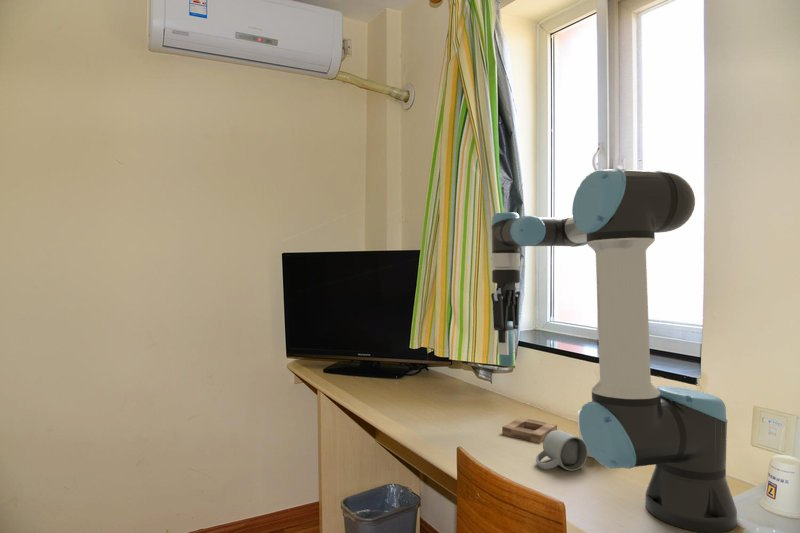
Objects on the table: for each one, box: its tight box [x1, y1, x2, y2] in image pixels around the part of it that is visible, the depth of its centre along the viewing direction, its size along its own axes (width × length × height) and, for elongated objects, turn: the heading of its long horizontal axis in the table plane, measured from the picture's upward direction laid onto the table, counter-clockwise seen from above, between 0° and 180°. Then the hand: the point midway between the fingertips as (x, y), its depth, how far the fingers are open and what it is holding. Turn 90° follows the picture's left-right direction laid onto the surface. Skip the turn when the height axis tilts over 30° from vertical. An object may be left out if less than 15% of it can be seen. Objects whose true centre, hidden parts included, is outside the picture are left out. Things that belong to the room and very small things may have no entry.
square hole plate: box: [501, 416, 558, 444], centre depth 144 cm, size 11×11×2 cm
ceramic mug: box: [535, 429, 588, 472], centre depth 122 cm, size 11×8×8 cm
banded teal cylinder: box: [499, 321, 514, 367], centre depth 145 cm, size 4×4×12 cm
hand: (506, 353), depth 145 cm, fingers closed on banded teal cylinder, 3 cm apart
